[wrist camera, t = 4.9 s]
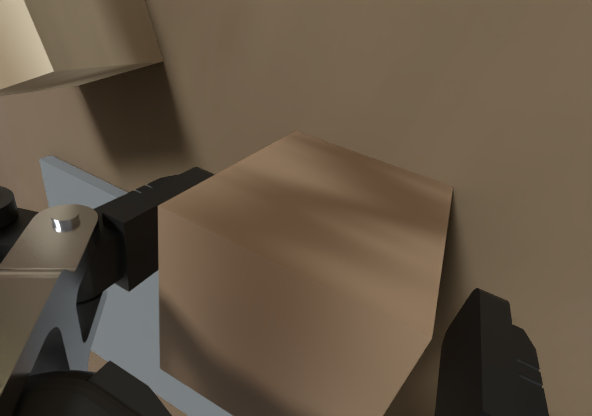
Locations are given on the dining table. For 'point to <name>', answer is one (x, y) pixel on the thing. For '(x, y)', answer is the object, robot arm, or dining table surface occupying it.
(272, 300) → the walnut block
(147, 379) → the mat
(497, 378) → the robot arm
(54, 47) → the beech block
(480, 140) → the dining table surface
